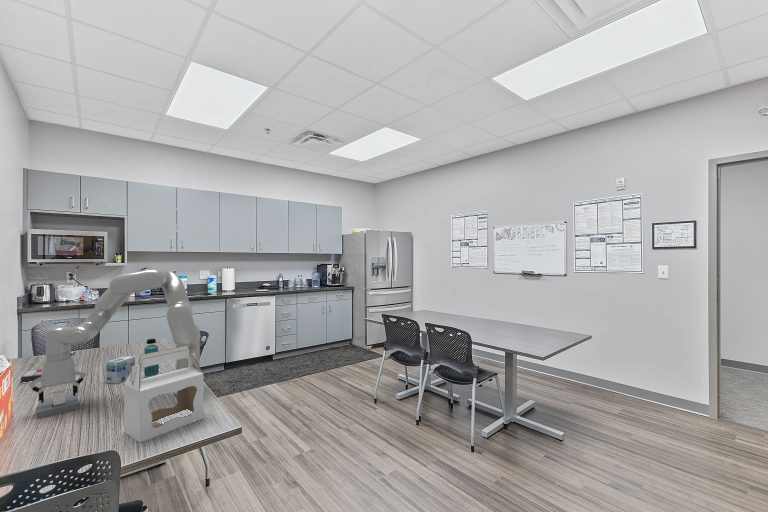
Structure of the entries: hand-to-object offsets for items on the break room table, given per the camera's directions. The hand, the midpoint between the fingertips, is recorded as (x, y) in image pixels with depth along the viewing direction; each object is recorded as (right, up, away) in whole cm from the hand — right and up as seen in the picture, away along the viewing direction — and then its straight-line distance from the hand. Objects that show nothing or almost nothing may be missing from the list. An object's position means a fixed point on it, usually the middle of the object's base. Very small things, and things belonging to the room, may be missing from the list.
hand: (58, 398), depth 143 cm
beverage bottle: (+12, -5, +39) cm, 41 cm away
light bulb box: (-1, -5, +35) cm, 36 cm away
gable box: (+53, -5, -14) cm, 55 cm away
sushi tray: (-45, -6, +40) cm, 60 cm away
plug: (0, -5, 0) cm, 5 cm away
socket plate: (-2, -5, +2) cm, 6 cm away
